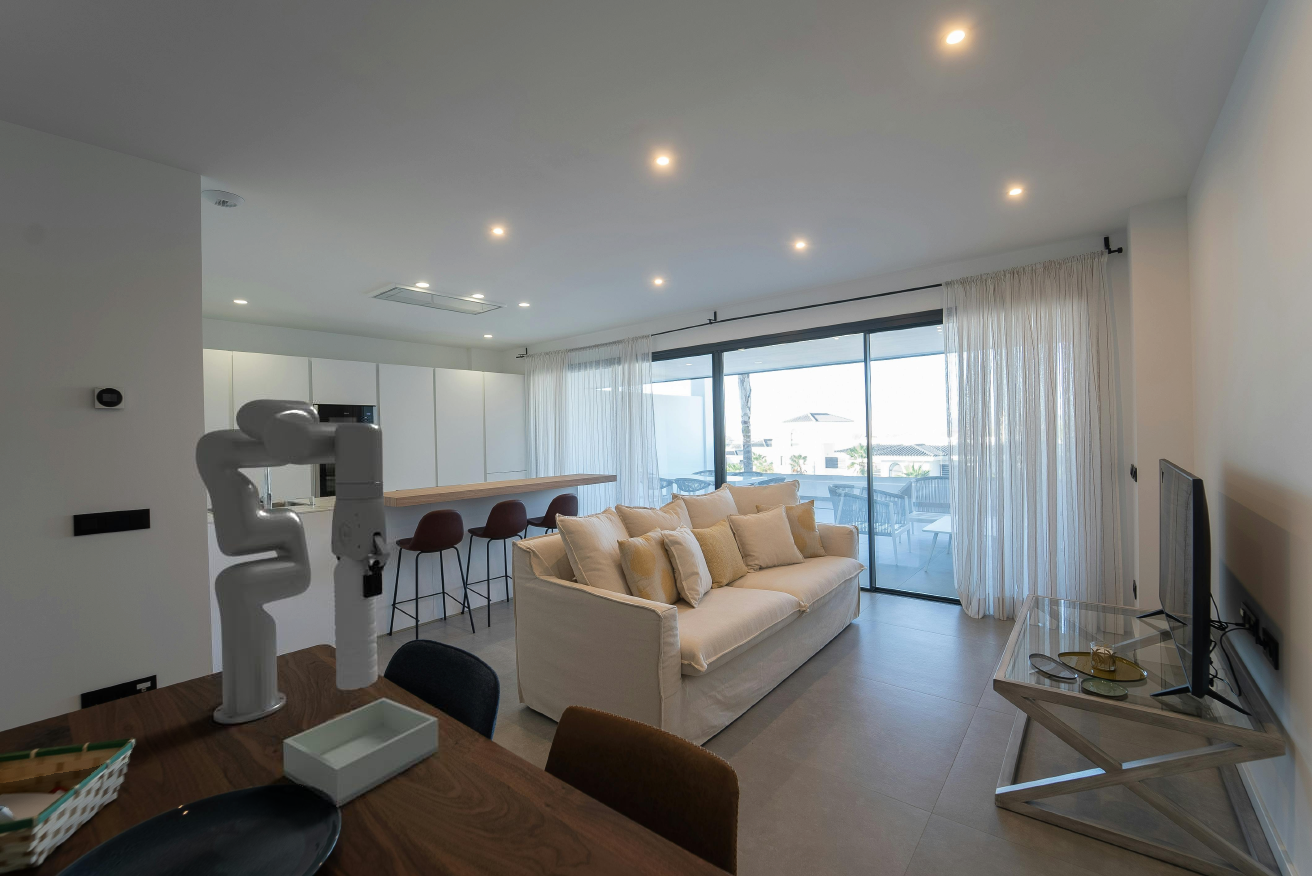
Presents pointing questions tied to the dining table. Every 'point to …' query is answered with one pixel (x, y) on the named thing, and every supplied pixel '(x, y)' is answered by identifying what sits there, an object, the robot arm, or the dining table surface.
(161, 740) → the dining table surface
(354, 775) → the bin
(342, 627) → the water bottle
